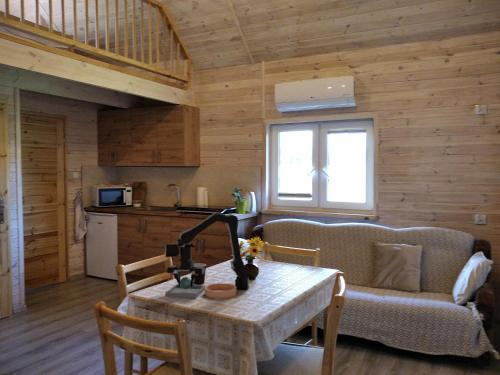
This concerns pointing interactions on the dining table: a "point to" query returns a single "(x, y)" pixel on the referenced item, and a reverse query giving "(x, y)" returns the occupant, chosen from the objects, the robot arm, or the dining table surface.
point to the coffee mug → (200, 277)
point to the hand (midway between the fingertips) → (185, 286)
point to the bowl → (220, 290)
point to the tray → (185, 291)
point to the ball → (185, 283)
